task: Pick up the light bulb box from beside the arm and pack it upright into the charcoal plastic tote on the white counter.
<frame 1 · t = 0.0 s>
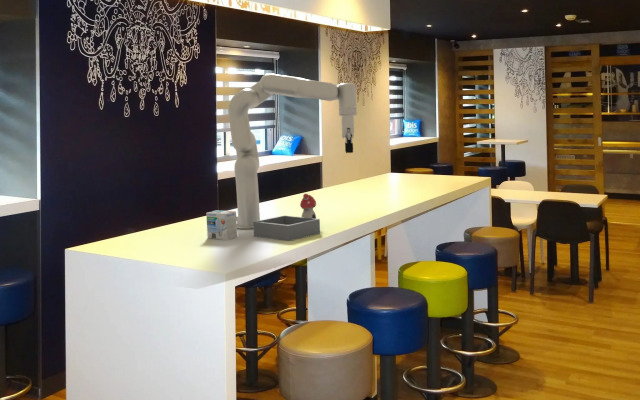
hand: (349, 152, 302), 31 cm above the table, tool pointing down, fingers open, 9 cm apart
tote: (287, 234, 284), on the table
light bulb box: (222, 238, 283), on the table
decorative ornament: (309, 227, 300), on the table
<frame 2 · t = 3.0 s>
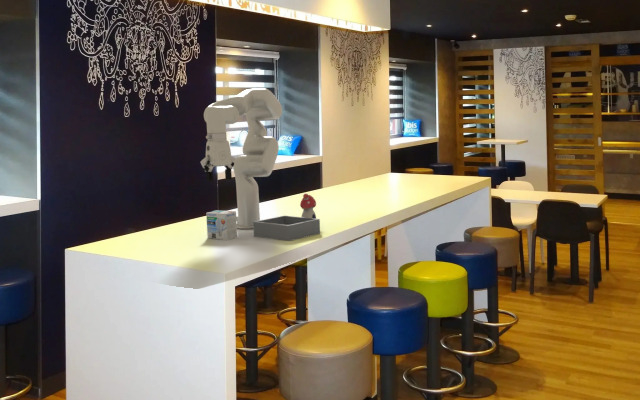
hand: (219, 180, 280), 23 cm above the table, tool pointing down, fingers open, 9 cm apart
nothing on the table moved.
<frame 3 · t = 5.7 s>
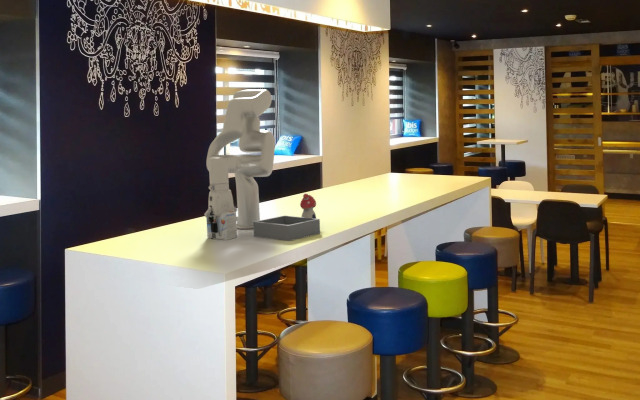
hand: (222, 230, 283), 3 cm above the table, tool pointing down, fingers closed on light bulb box, 7 cm apart
light bulb box: (222, 238, 283), on the table, touching gripper
everything else where it was.
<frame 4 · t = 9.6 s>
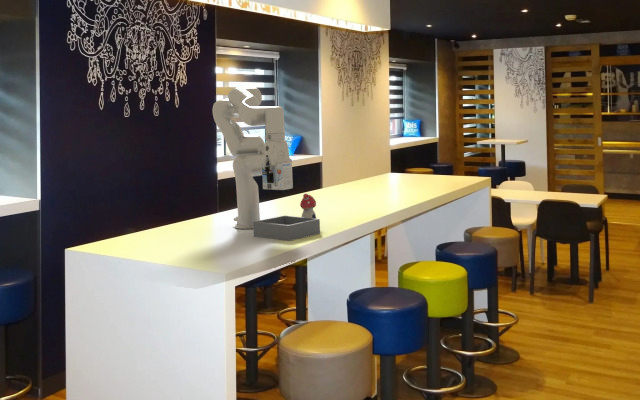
hand: (277, 181, 281), 22 cm above the table, tool pointing down, fingers closed on light bulb box, 7 cm apart
light bulb box: (278, 189, 281), point 19 cm above the table, touching gripper
everything else where it was.
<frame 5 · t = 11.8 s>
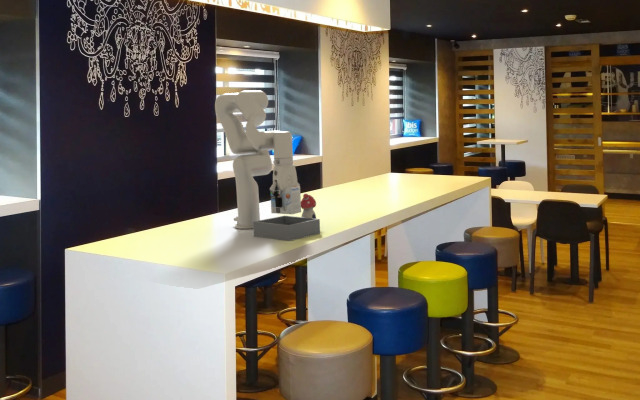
hand: (285, 205, 282), 12 cm above the table, tool pointing down, fingers closed on light bulb box, 7 cm apart
light bulb box: (286, 213, 283), point 9 cm above the table, touching gripper
everything else where it was.
when the fingers open (5 cm above the table, at t = 13.7 s): light bulb box drops 1 cm, resting on tote.
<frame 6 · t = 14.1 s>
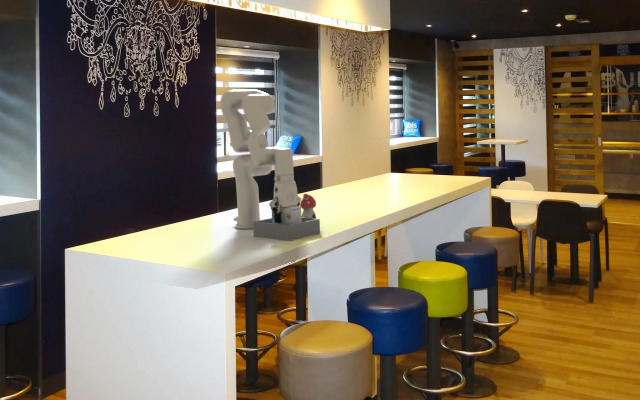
hand: (286, 220, 283), 6 cm above the table, tool pointing down, fingers open, 9 cm apart
light bulb box: (287, 232, 284), point 1 cm above the table, touching tote
everything else where it was.
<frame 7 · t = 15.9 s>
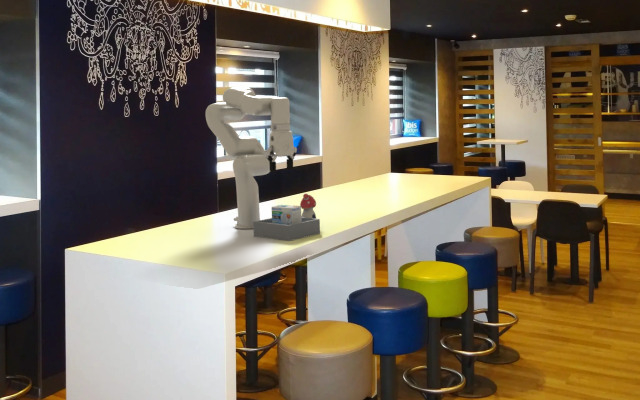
hand: (281, 170, 286), 26 cm above the table, tool pointing down, fingers open, 9 cm apart
nothing on the table moved.
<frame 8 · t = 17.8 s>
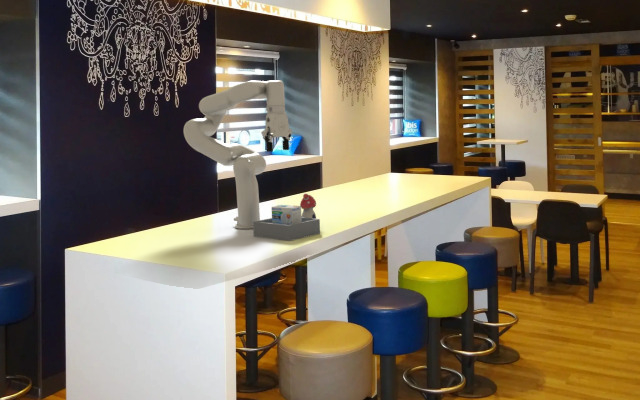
hand: (277, 150, 297), 33 cm above the table, tool pointing down, fingers open, 9 cm apart
nothing on the table moved.
at the end: light bulb box inside the target area on the tote (0.4 cm from its centre), point 0.8 cm above the tote's base; light bulb box tilted 0°; the gripper is holding nothing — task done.
